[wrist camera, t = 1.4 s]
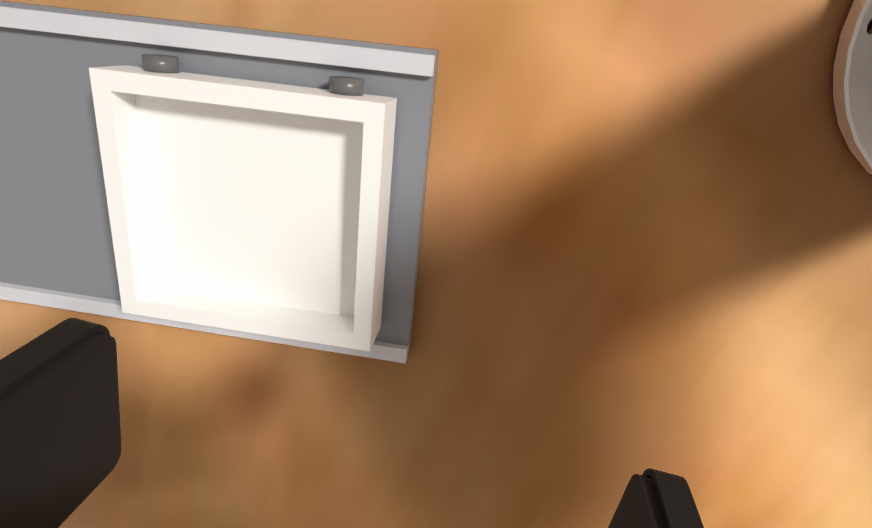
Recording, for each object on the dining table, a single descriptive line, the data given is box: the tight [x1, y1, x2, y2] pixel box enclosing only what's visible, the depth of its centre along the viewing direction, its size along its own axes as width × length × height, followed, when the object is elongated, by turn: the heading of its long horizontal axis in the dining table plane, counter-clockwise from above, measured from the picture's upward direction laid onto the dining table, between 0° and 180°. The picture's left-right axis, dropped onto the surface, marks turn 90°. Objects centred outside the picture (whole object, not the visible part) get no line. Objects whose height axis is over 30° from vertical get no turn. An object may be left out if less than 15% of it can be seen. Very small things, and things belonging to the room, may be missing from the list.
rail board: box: [0, 1, 439, 363], centre depth 26 cm, size 25×15×3 cm, turn 84°
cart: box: [89, 54, 397, 351], centre depth 24 cm, size 12×12×2 cm
